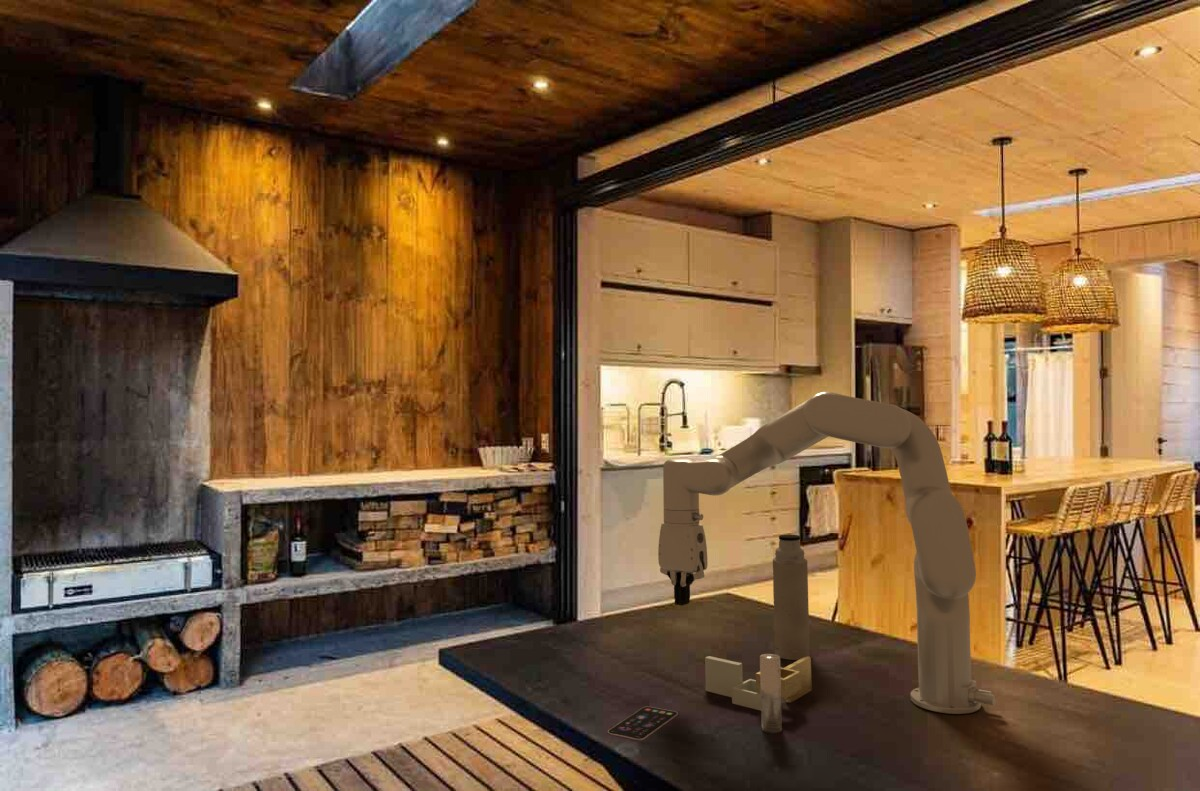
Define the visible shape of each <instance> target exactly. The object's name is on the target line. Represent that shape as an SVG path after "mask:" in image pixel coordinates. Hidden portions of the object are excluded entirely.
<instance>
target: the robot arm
mask: <svg viewBox="0 0 1200 791" xmlns="http://www.w3.org/2000/svg"><path fill="white" fill-rule="evenodd" d="M828 437H830V438H834V439H837V440H838V439H839V440H843V441H847V442H852V443H857V444H862V445H867V446H871V447H877V448H881V449H890V452H892V453H893V455H894V458H895V460H896V463H897V468H898V472H899V475H900V479H901V485H902V490H903V495H904V502H905V503H904V504H905V515H906V517H907V520H908V522H909V524H910V526H911V530H912V535H913V540H914V545H915V550H916V552H915V554H914V560H913V573H914V574H913V575H914V583H915V585H914V586H915V600H916V602H915V603H916V630H917V631H916V632H917V633H916V634H917V637H916V638H917V668H918V670H917V671H918V672H917V674H918V687H916V688H914V689H912V690H911V691H910V692H909V693H910V700H911V701H912V703H913V704H914V705H916V706H918V707H920V708H922V709H925V710H928V711H932V712H936V713H941V714H948V715H951V714H952V715H961V714H962V715H963V714H965V715H966V714H971V713H975V712H977V711H978V710H979V711H980V709H981V707H982V704H985V705H989V706H994V707H995V705H996V695H995V694H993V693H992V691H991V690H985V689H980V688H979V687H977V680H973V679H972V661H971V660H972V659H971V658H972V655H971V654H972V653H971V628H970V627H971V626H970V625H971V620H970V619H971V618H970V616H971V614H970V599H969V593H970V592H971V590H972V589H973V587H974V585H975V582H976V580H977V578H976V577H977V573H976V572H977V569H976V564H975V562H976V561H975V558H974V552H973V547H972V541H971V538H970V537H971V536H970V532H969V527H968V523H967V518H966V515H965V511H964V509H963V507H962V504H961V502H960V501H959V500H958V498H957V497H956V496H955V495H953V493H952V490H951V485H950V482H949V477H948V473H947V472H948V471H947V468H946V464H945V460H944V458H943V457H944V456H943V452H942V450H941V449H942V448H941V446H940V444H939V441H938V439H937V437H936V435H935V434H934V432H933V431H932V430H931V428H930V426H929V425H927V423H925V422H924V421H923V420H922V419H921V418H920V417H919V416H917V415H916V414H914V413H912V412H910V411H908V410H906V409H904V408H901V407H899V406H898V405H896V404H891V403H885V402H880V401H875V400H870V399H864V398H858V397H853V396H850V395H845V394H841V393H838V392H837V393H836V392H833V391H822V392H819V393H816V394H814V395H813V396H812V397H810V398H809V399H807V400H805V401H803V402H801V403H800V404H798V405H797V406H795V407H793V408H791V409H790V410H788V411H786V412H784V413H782V414H780V416H777V417H775V418H774V419H772V420H770V421H768V422H767V423H765V424H764V425H762V426H760V427H759V428H758V429H757V430H756V431H755V432H754V433H753V434H751V435H750V436H749V437H747V438H745V439H744V440H742V441H740V442H738V443H737V444H736V445H734V446H731V448H729V449H727V450H725V451H724V452H722V453H719V454H718V455H716V456H715V457H713V458H709V459H708V460H707V459H706V460H699V461H696V460H694V459H691V458H669V459H668V460H665V462H664V464H663V466H662V467H663V468H662V469H663V472H662V474H663V476H662V477H663V479H662V480H663V482H662V484H663V486H662V487H663V494H662V495H663V498H662V499H663V522H661V525H660V530H659V536H658V537H659V538H658V547H657V550H658V551H657V552H658V554H657V556H658V558H657V559H658V565H659V567H660V568H659V572H660V573H661V574H663V575H665V576H667V577H668V578H669V580H670V582H671V585H672V586H673V598H674V605H676V606H681V607H683V606H685V605H688V604H690V600H691V585H693V583H694V581H696V580H701V579H704V578H705V573H704V571H705V570H707V569H708V548H707V547H708V546H707V540H706V534H705V529H704V525H703V524H702V523H700V521H702V520H703V519H704V514H703V513H700V494H702V495H708V496H721V495H724V494H726V493H727V492H728V491H729V490H731V488H733V487H735V486H737V485H738V484H741V483H742V482H744V481H745V480H747V479H749V478H750V477H752V476H754V475H756V474H757V473H760V472H761V471H764V470H766V469H767V468H770V467H773V466H776V465H779V464H781V463H784V462H785V461H788V460H789V459H791V458H793V457H795V456H797V455H799V454H801V453H802V452H804V451H806V450H807V449H809V448H811V447H812V446H814V445H816V444H818V443H819V442H821V441H823V440H825V439H826V438H828Z"/></svg>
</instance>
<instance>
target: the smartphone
mask: <svg viewBox="0 0 1200 791" xmlns="http://www.w3.org/2000/svg"><path fill="white" fill-rule="evenodd" d="M678 714H679V713H678V711H675V710H669V709H664V708H659V707H655V706H643V707H641V708H640V709H639V710H637V711H635V712H634V713H632V714H631V715H630V716H629V715H628V716H627V717H626V718H625V719H624V720H621V721H620V722H618V723H617V724H616V725H614V726H612V727H611V728H609V729H608V730H607V734H609V735H611V736H616V737H620V738H625V739H629V740H634V741H645V740H646V739H647V738H649V737H650V736H651V735H652V734H654V733H656V732H657V731H658V730H659V729H661V728H662V727H663V726H665V725H666V724H668V723H669V722H671V721H672V720H673V719H674V718H676V717H677V716H678Z"/></svg>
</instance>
